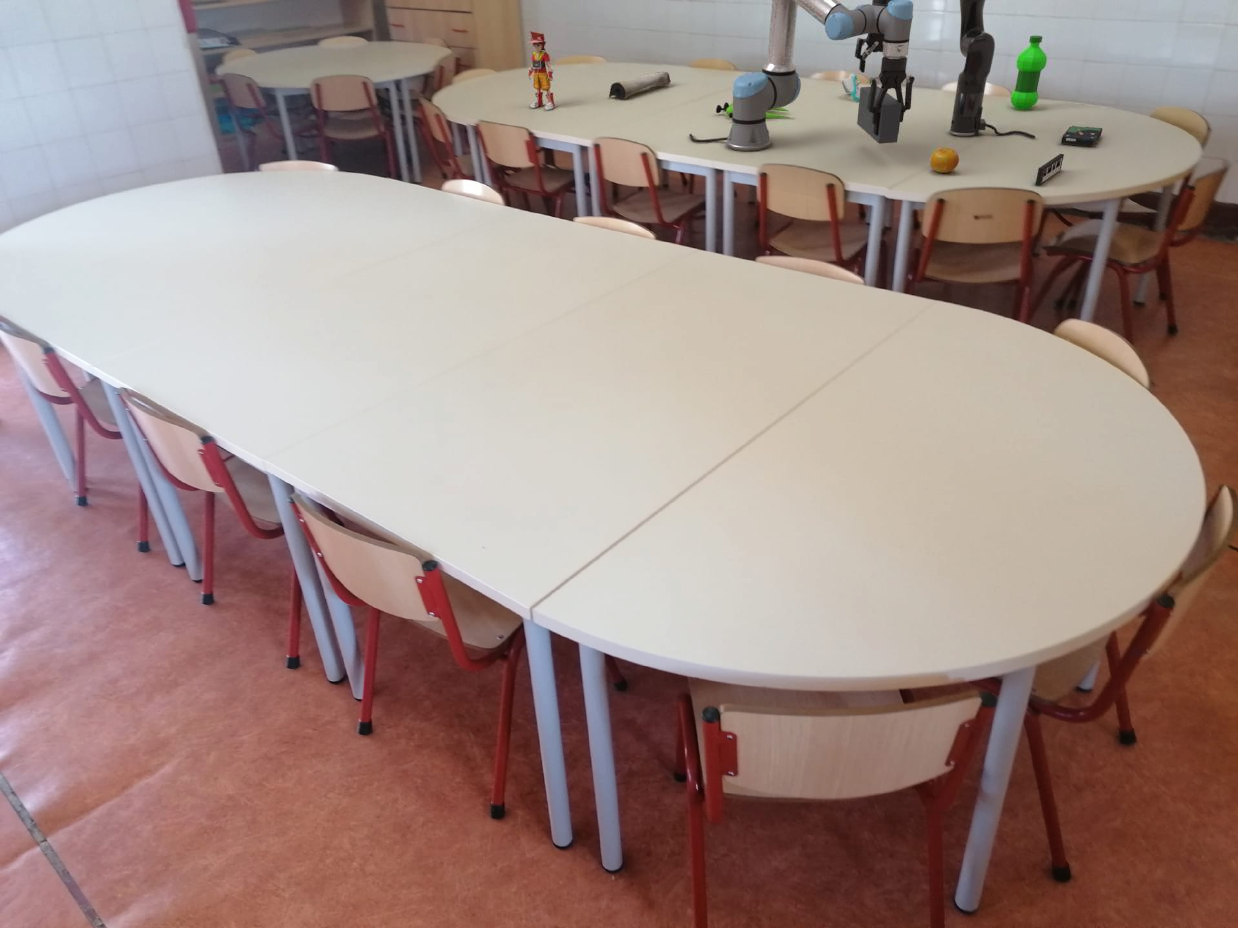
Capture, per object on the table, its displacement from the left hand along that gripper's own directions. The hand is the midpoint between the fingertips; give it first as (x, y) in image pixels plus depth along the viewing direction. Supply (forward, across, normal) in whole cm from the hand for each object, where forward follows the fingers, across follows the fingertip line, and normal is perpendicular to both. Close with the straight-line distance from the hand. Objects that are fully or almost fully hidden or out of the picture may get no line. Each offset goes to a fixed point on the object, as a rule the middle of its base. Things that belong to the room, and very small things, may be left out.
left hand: (885, 133), depth 290 cm
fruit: (+10, +15, -13) cm, 22 cm away
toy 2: (+10, -28, +72) cm, 78 cm away
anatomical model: (+10, +16, +89) cm, 91 cm away
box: (+2, 0, +10) cm, 10 cm away
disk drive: (+10, +71, +9) cm, 72 cm away
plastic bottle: (+10, +71, +55) cm, 90 cm away
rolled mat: (+10, -70, +126) cm, 144 cm away
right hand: (-15, +1, +20) cm, 25 cm away
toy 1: (+10, -113, +110) cm, 158 cm away
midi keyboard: (+10, +43, -26) cm, 52 cm away
